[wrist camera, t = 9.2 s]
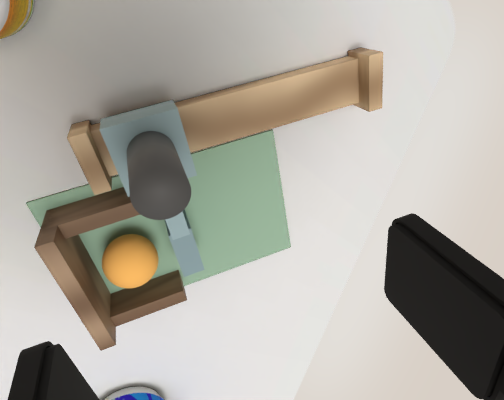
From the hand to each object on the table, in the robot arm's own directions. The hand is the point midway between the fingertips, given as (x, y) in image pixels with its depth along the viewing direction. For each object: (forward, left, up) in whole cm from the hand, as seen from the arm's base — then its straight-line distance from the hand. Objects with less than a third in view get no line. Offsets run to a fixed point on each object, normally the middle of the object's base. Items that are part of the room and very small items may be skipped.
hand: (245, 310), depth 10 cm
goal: (+10, -7, -21) cm, 24 cm away
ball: (+10, -7, -17) cm, 21 cm away
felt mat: (+10, -2, -21) cm, 23 cm away
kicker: (+6, -2, -20) cm, 21 cm away
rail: (+1, +5, -21) cm, 22 cm away
